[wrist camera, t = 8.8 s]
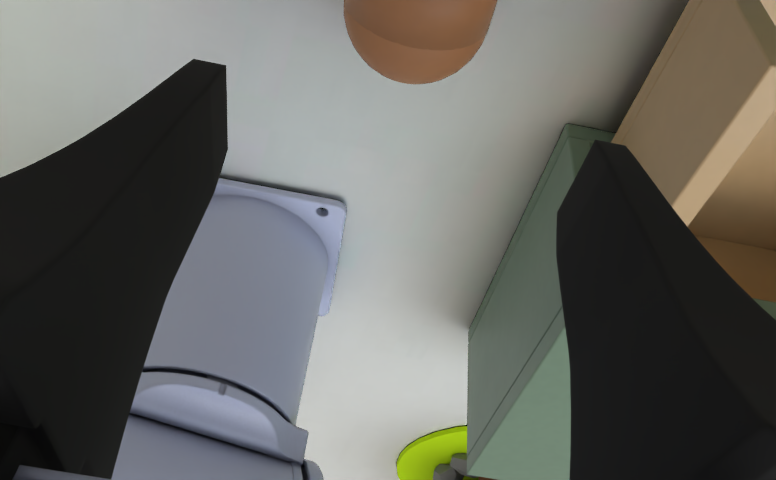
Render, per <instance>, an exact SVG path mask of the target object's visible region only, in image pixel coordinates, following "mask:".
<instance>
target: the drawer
mask: <svg viewBox="0 0 776 480" xmlns="http://www.w3.org/2000/svg"><path fill="white" fill-rule="evenodd" d="M611 143H615V144H620V145H625V146H626V147H627V148H628V149H629V150H630V152H631V153H632V154H633V155H634V157H635V158H636V159H637V160H638V162H639V163H640V164H641V166H642V167H643V169H644V170H645V171H646V173H647V174H648V175H649V177H650V178H651V179H652V181H653V182H654V183H655V185H656V186H657V188H658V189H659V190H660V192H661V193H662V194H663V196H664V197H665V198H666V200H667V201H668V202H669V204H670V205H671V206H672V208H673V209H674V210H675V212H676V213H677V214H678V216H679V217H680V218H681V219H682V221H683V222H684V223H685V224H686V226H687V227H688V228H689V229H690V231H691V232H692V233H693V234H694V236H695V237H696V238H697V239H698V241H699V242H700V243H701V244H702V245H703V246H704V247H705V249H706V250H707V251H708V252H709V253H710V254H711V256H712V257H713V258H714V259H715V260H716V261H717V262H718V264H719V265H720V266H721V267H722V268H723V269H724V270H725V271H726V272H727V273H728V274H729V275H730V277H731V278H732V279H733V280H734V281H735V282H736V283H737V284H738V285H739V286H740V287H741V288H742V289H743V290H744V291H746V292H747V293H748V294H749V295H750V296H751V297H752V298H755V299H761V300H766V301H771V302H776V0H689V2H688V3H687V5H686V7H685V9H684V11H683V12H682V14H681V16H680V18H679V20H678V22H677V23H676V25H675V27H674V29H673V31H672V32H671V34H670V36H669V38H668V40H667V42H666V43H665V45H664V47H663V49H662V51H661V52H660V54H659V56H658V58H657V60H656V62H655V63H654V65H653V67H652V69H651V71H650V72H649V74H648V76H647V78H646V80H645V81H644V83H643V85H642V87H641V89H640V91H639V92H638V94H637V96H636V98H635V100H634V101H633V103H632V105H631V107H630V109H629V111H628V112H627V114H626V116H625V118H624V120H623V121H622V123H621V125H620V127H619V129H618V131H617V132H616V134H615V136H614V138H613V140H612V141H611Z"/></svg>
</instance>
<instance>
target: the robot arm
mask: <svg viewBox="0 0 776 480" xmlns="http://www.w3.org/2000/svg"><path fill="white" fill-rule="evenodd" d="M227 150H228V142H227V90H226V65H221V64H216V63H211V62H206V61H201V60H196V59H193V60H192V61H190V62H189V63H187V64H186V65H185V66H183V67H182V68H181V69H179V70H178V71H177V72H175V73H174V74H173V75H171V76H170V77H169V78H167V79H166V80H165V81H163V82H162V83H161V84H160V85H158V86H157V87H156V88H154V89H153V90H152V91H150V92H149V93H148V94H146V95H145V96H144V97H142V98H141V99H139V100H138V101H137V102H135V103H134V104H132V105H131V106H130V107H128V108H127V109H125V110H124V111H123V112H121V113H120V114H118V115H117V116H115V117H114V118H112V119H111V120H109V121H108V122H106V123H105V124H103V125H101V126H100V127H98V128H97V129H95V130H94V131H92V132H90V133H89V134H87V135H86V136H84V137H83V138H81V139H79V140H77V141H76V142H74V143H72V144H70V145H68V146H67V147H65V148H63V149H61V150H59V151H57V152H55V153H53V154H51V155H49V156H47V157H45V158H43V159H41V160H39V161H38V162H36V163H34V164H31V165H29V166H27V167H25V168H23V169H20V170H18V171H16V172H13V173H11V174H8V175H6V176H4V177H1V178H0V480H324V479H323V475H322V472H321V470H320V468H319V466H318V465H317V464H316V463H315V462H313V461H310V460H306V459H304V454H305V449H306V444H307V438H308V431H307V430H304V429H301V428H299V427H297V426H295V424H296V419H297V414H298V410H299V405H300V400H301V395H302V390H303V385H304V381H305V376H306V371H307V366H308V361H309V356H310V352H311V347H312V342H313V337H314V332H315V327H316V323H317V318H318V316H324V315H326V314H328V313H329V309H330V304H331V298H332V292H333V287H334V281H335V275H336V270H337V264H338V258H339V253H340V247H341V241H342V236H343V230H344V224H345V219H346V213H347V207H346V206H345V204H344V203H342V202H341V201H338V200H333V199H328V198H323V197H317V196H312V195H307V194H301V193H296V192H291V191H286V190H280V189H275V188H270V187H264V186H259V185H254V184H249V183H243V182H238V181H233V180H228V179H222V178H219V176H220V173H221V170H222V166H223V163H224V160H225V156H226V153H227ZM320 208H325V209H327V210H322V209H320ZM556 259H557V268H558V276H559V284H560V292H561V299H562V307H563V314H564V321H565V329H566V336H567V344H568V352H569V364H570V395H571V443H570V479H569V480H776V320H775V319H774V318H773V317H772V316H771V315H770V314H769V313H767V312H766V311H765V310H764V309H763V308H762V307H761V306H760V305H759V304H758V303H757V302H756V301H755V300H754V299H753V298H752V297H751V296H750V295H749V294H748V293H747V292H746V291H744V290H743V289H742V288H741V287H740V286H739V285H738V284H737V283H736V282H735V281H734V280H733V279H732V278H731V277H730V275H729V274H728V273H727V272H726V271H725V270H724V269H723V268H722V267H721V266H720V265H719V264H718V262H717V261H716V260H715V259H714V258H713V257H712V256H711V254H710V253H709V252H708V251H707V250H706V249H705V247H704V246H703V245H702V244H701V243H700V242H699V241H698V239H697V238H696V237H695V236H694V234H693V233H692V232H691V231H690V229H689V228H688V227H687V226H686V224H685V223H684V222H683V221H682V219H681V218H680V217H679V216H678V214H677V213H676V212H675V210H674V209H673V208H672V206H671V205H670V204H669V202H668V201H667V200H666V198H665V197H664V196H663V194H662V193H661V192H660V190H659V189H658V188H657V186H656V185H655V183H654V182H653V181H652V179H651V178H650V177H649V175H648V174H647V173H646V171H645V170H644V169H643V167H642V166H641V164H640V163H639V162H638V160H637V159H636V158H635V157H634V155H633V154H632V153H631V152H630V150H629V149H628V148H627V147H626V146H625V145H620V144H615V143H610V142H605V141H600V140H595V141H594V143H593V145H592V147H591V149H590V151H589V152H588V154H587V156H586V158H585V160H584V162H583V164H582V166H581V168H580V170H579V171H578V173H577V175H576V177H575V179H574V181H573V183H572V185H571V187H570V189H569V190H568V192H567V194H566V196H565V198H564V200H563V202H562V204H561V206H560V208H559V210H558V211H557V228H556Z"/></svg>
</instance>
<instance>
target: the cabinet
mask: <svg viewBox="0 0 776 480" xmlns="http://www.w3.org/2000/svg"><path fill="white" fill-rule="evenodd" d="M615 134H616V133H611V132H606V131H601V130H596V129H591V128H586V127H581V126H576V125H571V124H566V126H565V128H564V130H563V132H562V134H561V136H560V138H559V140H558V143H557V145H556V147H555V149H554V151H553V153H552V155H551V157H550V160H549V162H548V164H547V166H546V168H545V170H544V172H543V174H542V177H541V179H540V181H539V183H538V185H537V187H536V189H535V191H534V193H533V196H532V198H531V200H530V202H529V204H528V206H527V208H526V210H525V213H524V215H523V217H522V219H521V221H520V223H519V225H518V227H517V230H516V232H515V234H514V236H513V238H512V240H511V242H510V244H509V247H508V249H507V251H506V253H505V255H504V257H503V259H502V261H501V263H500V266H499V268H498V270H497V272H496V274H495V276H494V278H493V280H492V283H491V285H490V287H489V289H488V291H487V293H486V295H485V297H484V300H483V302H482V304H481V306H480V308H479V310H478V312H477V314H476V317H475V319H474V321H473V323H472V325H471V327H470V329H469V331H468V342H469V344H468V403H467V474H468V475H473V476H479V477H485V478H491V479H497V480H569V479H570V443H571V395H570V364H569V352H568V344H567V336H566V329H565V321H564V314H563V307H562V299H561V292H560V284H559V276H558V268H557V259H556V228H557V211H558V210H559V208H560V206H561V204H562V202H563V200H564V198H565V196H566V194H567V192H568V190H569V189H570V187H571V185H572V183H573V181H574V179H575V177H576V175H577V173H578V171H579V170H580V168H581V166H582V164H583V162H584V160H585V158H586V156H587V154H588V152H589V151H590V149H591V147H592V145H593V143H594V141H595V140H600V141H605V142H610V143H611V141H612V140H613V138H614V136H615ZM753 299H754V300H755V301H756V302H757V303H758V304H759V305H760V306H761V307H762V308H763V309H764V310H765V311H766V312H767V313H769V314H770V315H771V316H772V317H773V318H774V319H775V320H776V302H771V301H766V300H761V299H755V298H753Z"/></svg>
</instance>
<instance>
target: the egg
mask: <svg viewBox="0 0 776 480" xmlns="http://www.w3.org/2000/svg"><path fill="white" fill-rule="evenodd" d="M496 3H497V0H344V18H345V23H346V28H347V31H348V35H349V37H350V39H351V42H352V44H353V46H354V47H355V49H356V51H357V52H358V54H359V55H360V56H361V57H362V59H363V60H364V61H365V62H366V63H367V64H368V65H369V66H370V67H371V68H373V69H374V70H375V71H377V72H378V73H380V74H381V75H383V76H385V77H387V78H389V79H391V80H394V81H397V82H401V83H407V84H425V83H432V82H436V81H439V80H442V79H444V78H446V77H448V76H450V75H452V74H454V73H456V72H457V71H458V70H460V69H461V68H462V67H463V66H464V65H465V64H467V63H468V62H469V61H470V60H471V59H472V58H473V56H474V55H475V53H476V52H477V51H478V49H479V48H480V46H481V45H482V43H483V41H484V38H485V36H486V34H487V31H488V29H489V25H490V22H491V19H492V16H493V13H494V10H495V6H496Z"/></svg>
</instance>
